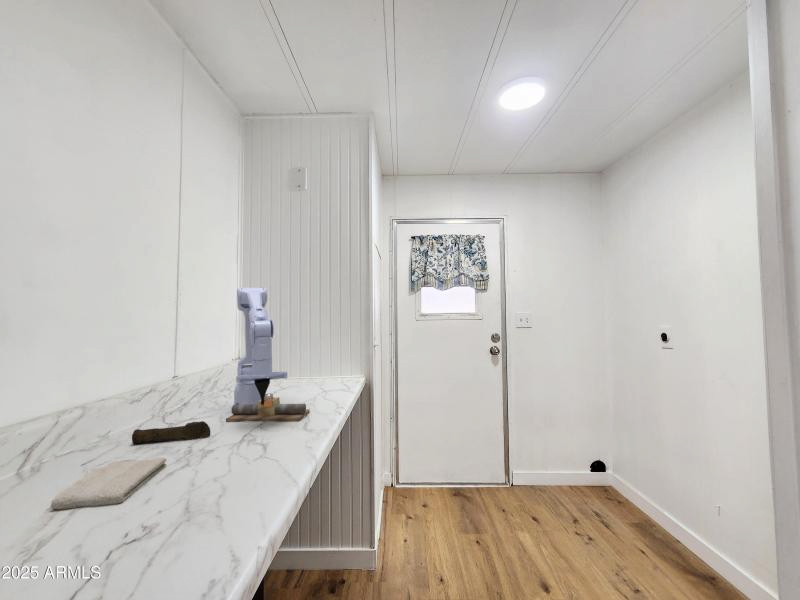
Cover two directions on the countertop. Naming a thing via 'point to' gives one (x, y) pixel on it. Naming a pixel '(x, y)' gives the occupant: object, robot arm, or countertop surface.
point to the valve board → (267, 418)
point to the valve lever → (268, 400)
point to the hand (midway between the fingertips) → (262, 404)
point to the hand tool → (172, 433)
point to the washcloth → (109, 484)
